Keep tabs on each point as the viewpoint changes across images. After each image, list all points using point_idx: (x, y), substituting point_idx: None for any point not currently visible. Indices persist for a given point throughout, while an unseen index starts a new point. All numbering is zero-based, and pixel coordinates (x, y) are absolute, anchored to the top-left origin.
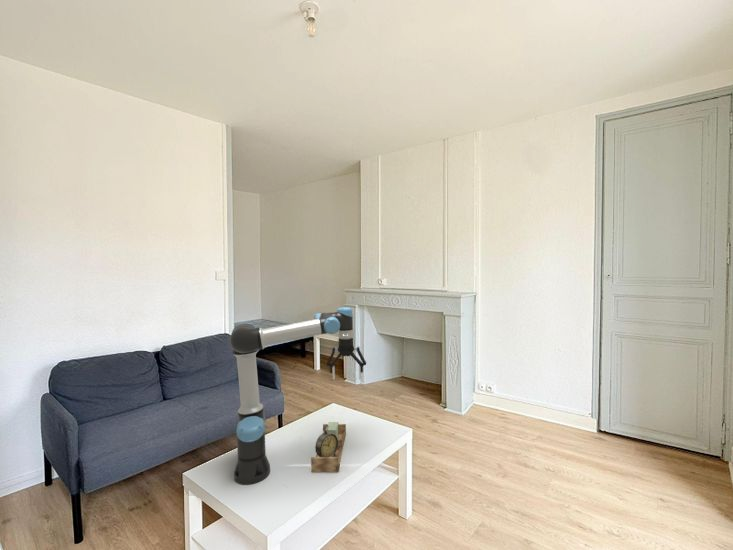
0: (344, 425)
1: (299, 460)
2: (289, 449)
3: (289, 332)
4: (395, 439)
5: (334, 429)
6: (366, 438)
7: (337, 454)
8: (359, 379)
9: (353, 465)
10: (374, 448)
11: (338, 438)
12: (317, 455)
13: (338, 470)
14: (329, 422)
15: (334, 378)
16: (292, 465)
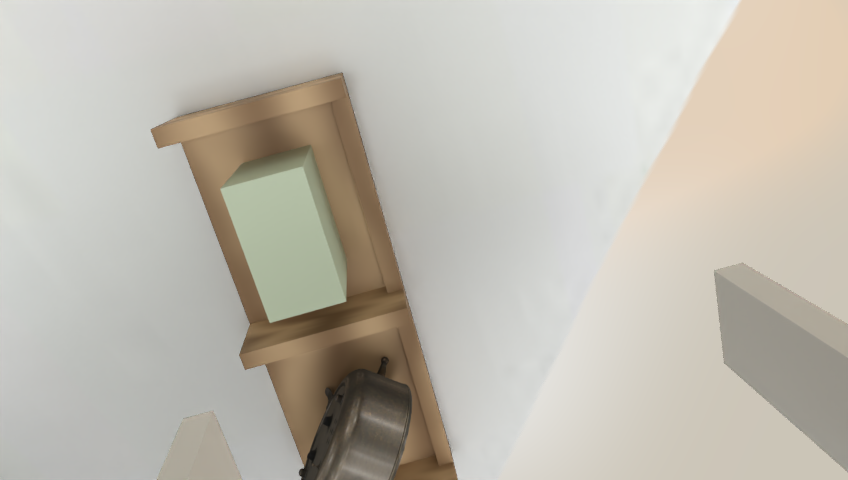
0: (338, 99)
1: None
2: (55, 348)
3: None
4: (704, 39)
5: (331, 295)
6: (503, 78)
7: (394, 344)
8: (729, 361)
9: (507, 382)
10: (584, 190)
11: (320, 165)
12: (282, 385)
13: (451, 454)
14: (232, 195)
15: (229, 460)
16: None
